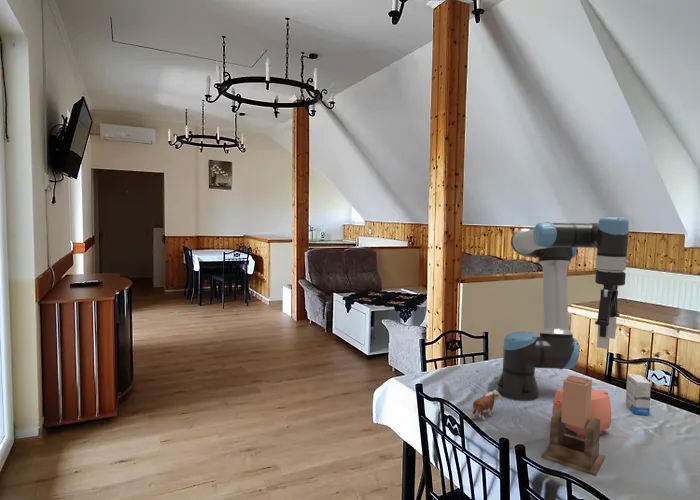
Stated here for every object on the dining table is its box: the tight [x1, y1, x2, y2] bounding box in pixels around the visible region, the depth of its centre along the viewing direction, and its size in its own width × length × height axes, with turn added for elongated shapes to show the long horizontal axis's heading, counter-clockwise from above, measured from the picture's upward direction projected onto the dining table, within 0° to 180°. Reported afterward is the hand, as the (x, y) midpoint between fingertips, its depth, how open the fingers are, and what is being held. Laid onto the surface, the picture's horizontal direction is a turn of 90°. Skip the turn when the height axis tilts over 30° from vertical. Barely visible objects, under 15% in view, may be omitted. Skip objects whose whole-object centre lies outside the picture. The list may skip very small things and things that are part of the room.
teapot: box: [551, 387, 612, 439], centre depth 147 cm, size 22×13×14 cm, turn 112°
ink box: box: [625, 373, 652, 416], centre depth 163 cm, size 9×5×12 cm, turn 168°
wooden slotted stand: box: [540, 409, 606, 477], centre depth 130 cm, size 14×12×12 cm
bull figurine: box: [472, 389, 502, 421], centre depth 156 cm, size 4×13×8 cm, turn 127°
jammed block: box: [561, 374, 593, 429], centre depth 129 cm, size 6×6×12 cm
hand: (606, 342), depth 133 cm, fingers open, 13 cm apart
